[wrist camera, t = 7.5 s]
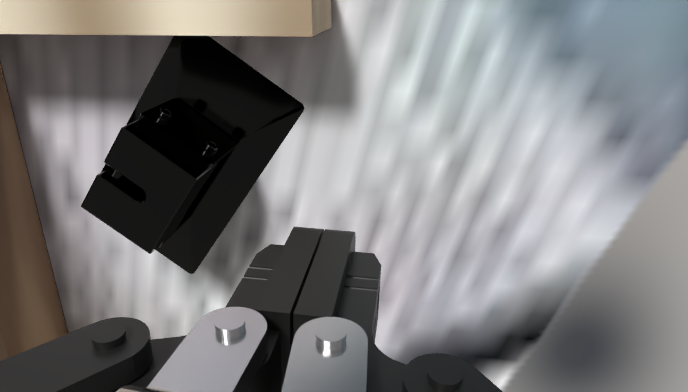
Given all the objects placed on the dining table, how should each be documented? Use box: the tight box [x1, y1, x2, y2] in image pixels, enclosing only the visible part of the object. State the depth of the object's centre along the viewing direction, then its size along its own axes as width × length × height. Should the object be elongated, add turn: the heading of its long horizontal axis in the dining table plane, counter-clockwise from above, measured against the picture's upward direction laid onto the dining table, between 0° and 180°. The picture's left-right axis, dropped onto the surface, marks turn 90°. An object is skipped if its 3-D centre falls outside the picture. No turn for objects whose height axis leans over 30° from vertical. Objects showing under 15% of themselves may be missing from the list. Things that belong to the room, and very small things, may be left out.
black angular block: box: [81, 35, 304, 274], centre depth 20 cm, size 12×7×5 cm, turn 145°
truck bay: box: [0, 0, 332, 361], centre depth 21 cm, size 15×19×4 cm
